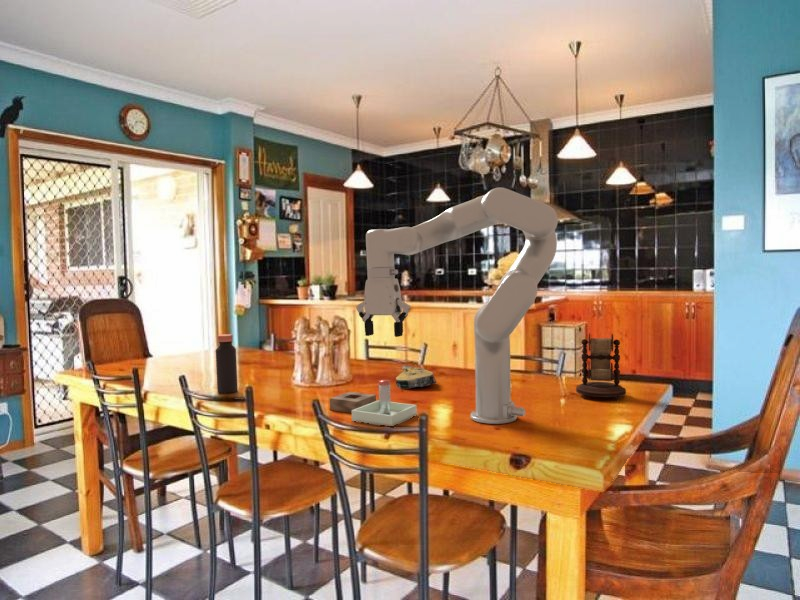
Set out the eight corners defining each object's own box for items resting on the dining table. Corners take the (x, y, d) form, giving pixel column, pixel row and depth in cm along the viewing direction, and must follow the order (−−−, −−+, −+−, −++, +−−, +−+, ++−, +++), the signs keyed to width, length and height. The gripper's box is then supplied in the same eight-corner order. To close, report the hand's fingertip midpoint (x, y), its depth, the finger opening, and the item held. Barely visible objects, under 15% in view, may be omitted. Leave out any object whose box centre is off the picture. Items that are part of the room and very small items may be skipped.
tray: (416, 415, 162) (416, 405, 162) (391, 427, 151) (391, 416, 151) (378, 410, 169) (378, 400, 169) (351, 421, 158) (351, 410, 157)
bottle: (231, 394, 196) (229, 336, 195) (213, 393, 197) (211, 336, 196) (241, 389, 203) (238, 333, 201) (223, 389, 204) (221, 333, 203)
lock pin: (392, 415, 160) (392, 380, 160) (386, 418, 157) (386, 382, 157) (383, 414, 162) (382, 379, 161) (377, 416, 159) (376, 381, 159)
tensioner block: (376, 406, 174) (375, 394, 174) (356, 413, 165) (356, 401, 165) (350, 402, 179) (349, 391, 179) (329, 409, 171) (329, 398, 171)
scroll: (624, 392, 184) (624, 330, 183) (627, 403, 170) (627, 336, 169) (576, 390, 189) (576, 330, 188) (576, 400, 175) (575, 335, 174)
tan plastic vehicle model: (427, 357, 223) (436, 372, 193) (430, 372, 224) (439, 388, 194) (392, 364, 223) (395, 380, 193) (395, 379, 223) (398, 396, 193)
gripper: (414, 272, 156) (417, 335, 157) (363, 274, 165) (366, 333, 166) (400, 273, 150) (403, 338, 151) (347, 275, 159) (350, 336, 160)
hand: (383, 335), depth 158 cm, fingers open, 9 cm apart
